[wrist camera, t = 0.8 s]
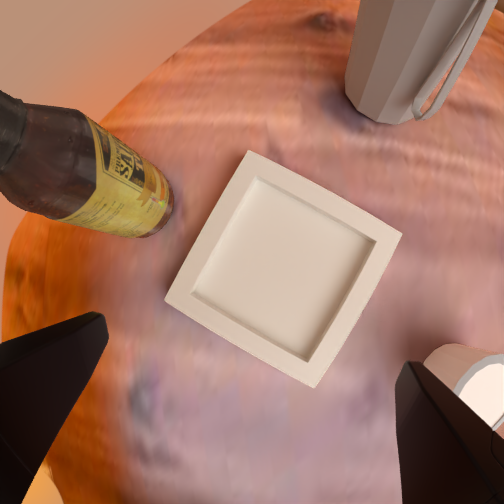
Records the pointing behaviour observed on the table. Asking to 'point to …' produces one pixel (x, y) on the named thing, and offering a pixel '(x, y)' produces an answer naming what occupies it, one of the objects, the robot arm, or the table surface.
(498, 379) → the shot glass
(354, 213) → the holder tray
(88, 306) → the table surface
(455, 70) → the water bottle
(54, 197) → the sauce bottle
